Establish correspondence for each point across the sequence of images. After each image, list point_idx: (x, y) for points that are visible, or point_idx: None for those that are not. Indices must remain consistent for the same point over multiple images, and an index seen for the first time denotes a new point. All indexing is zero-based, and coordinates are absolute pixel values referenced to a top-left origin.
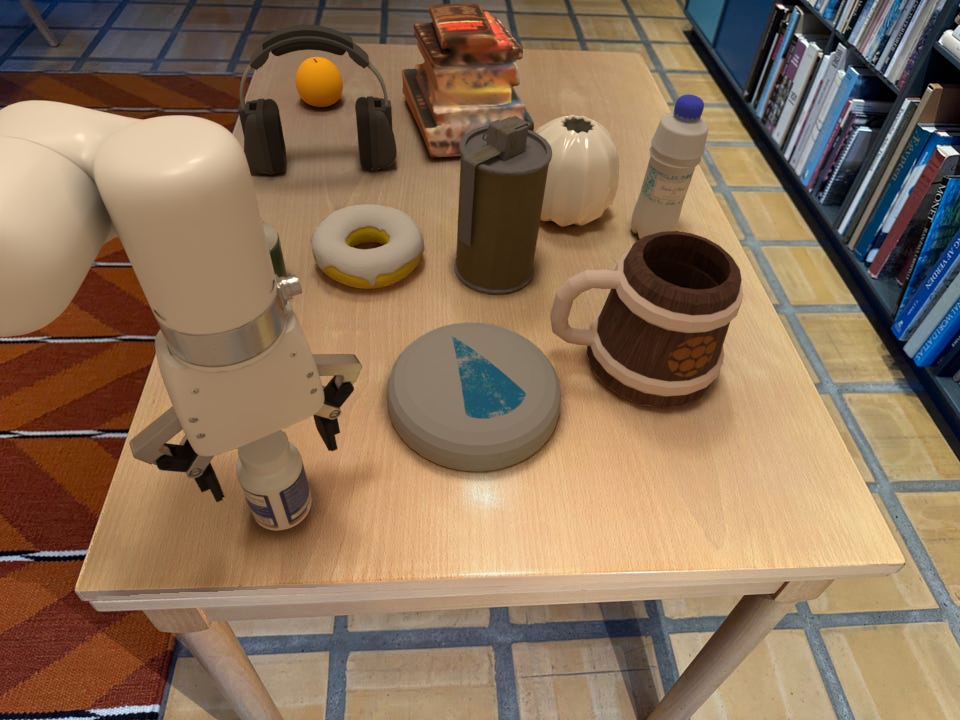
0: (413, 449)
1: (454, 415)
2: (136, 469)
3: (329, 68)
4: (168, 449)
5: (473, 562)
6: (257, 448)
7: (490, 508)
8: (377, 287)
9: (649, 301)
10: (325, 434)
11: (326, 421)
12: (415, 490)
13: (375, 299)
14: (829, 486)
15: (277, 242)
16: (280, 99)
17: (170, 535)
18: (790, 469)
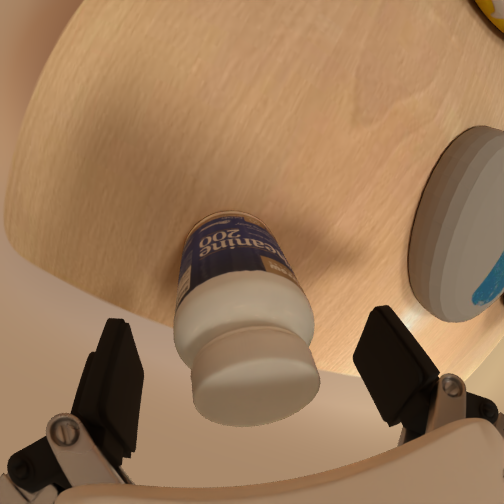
0: (410, 257)
1: (468, 289)
2: (49, 84)
3: None
4: (45, 493)
5: (353, 370)
6: (242, 404)
7: None
8: (489, 18)
9: None
10: (374, 402)
11: (396, 421)
12: (374, 300)
13: (478, 22)
14: (480, 360)
15: None
16: None
17: (71, 223)
18: (484, 350)
